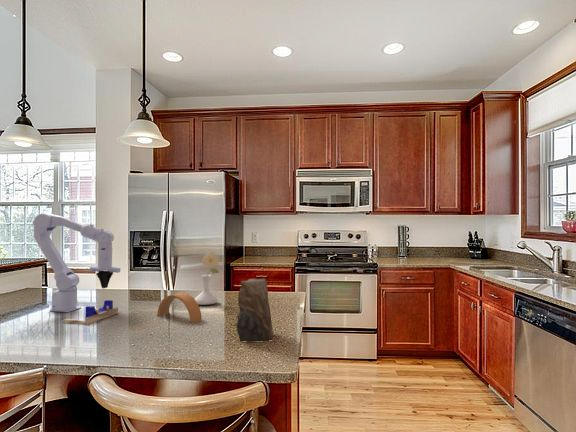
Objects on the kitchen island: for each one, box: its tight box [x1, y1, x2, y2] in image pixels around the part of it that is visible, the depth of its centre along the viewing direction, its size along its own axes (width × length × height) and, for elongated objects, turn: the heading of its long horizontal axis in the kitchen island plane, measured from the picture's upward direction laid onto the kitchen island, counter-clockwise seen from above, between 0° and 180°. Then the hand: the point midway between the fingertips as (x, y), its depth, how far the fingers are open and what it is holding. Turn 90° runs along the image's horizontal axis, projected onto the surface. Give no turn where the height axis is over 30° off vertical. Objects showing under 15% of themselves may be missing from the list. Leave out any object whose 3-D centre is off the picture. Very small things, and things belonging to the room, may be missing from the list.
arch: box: [156, 292, 203, 324], centre depth 151 cm, size 6×20×10 cm, turn 59°
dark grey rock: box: [236, 277, 274, 342], centre depth 128 cm, size 13×13×20 cm
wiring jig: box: [62, 306, 119, 325], centre depth 150 cm, size 11×18×4 cm, turn 168°
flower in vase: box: [194, 252, 220, 306], centre depth 175 cm, size 13×11×25 cm
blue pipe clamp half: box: [84, 299, 114, 319], centre depth 150 cm, size 12×4×6 cm, turn 168°
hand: (104, 287), depth 164 cm, fingers closed
